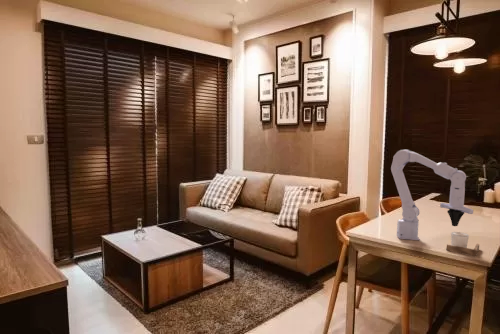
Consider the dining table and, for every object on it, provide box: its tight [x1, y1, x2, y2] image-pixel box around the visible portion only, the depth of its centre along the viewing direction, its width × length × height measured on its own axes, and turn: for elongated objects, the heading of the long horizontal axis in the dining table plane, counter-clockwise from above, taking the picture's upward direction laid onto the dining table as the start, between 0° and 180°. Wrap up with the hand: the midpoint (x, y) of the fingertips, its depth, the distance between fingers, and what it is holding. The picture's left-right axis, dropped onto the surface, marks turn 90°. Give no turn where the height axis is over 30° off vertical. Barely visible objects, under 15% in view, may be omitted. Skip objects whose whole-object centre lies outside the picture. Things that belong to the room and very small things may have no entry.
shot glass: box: [450, 231, 470, 248], centre depth 152 cm, size 7×7×7 cm
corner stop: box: [446, 243, 480, 257], centre depth 147 cm, size 9×16×2 cm, turn 95°
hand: (454, 225), depth 156 cm, fingers closed
